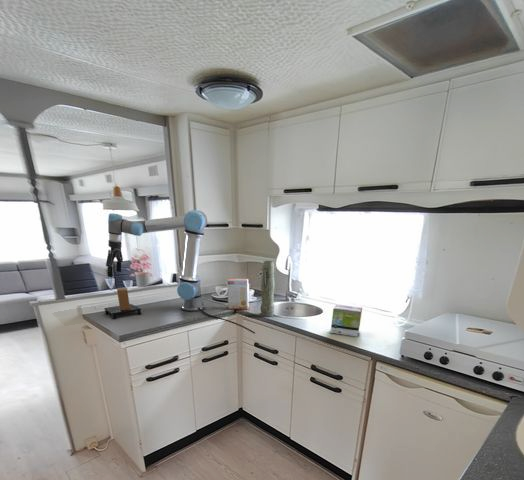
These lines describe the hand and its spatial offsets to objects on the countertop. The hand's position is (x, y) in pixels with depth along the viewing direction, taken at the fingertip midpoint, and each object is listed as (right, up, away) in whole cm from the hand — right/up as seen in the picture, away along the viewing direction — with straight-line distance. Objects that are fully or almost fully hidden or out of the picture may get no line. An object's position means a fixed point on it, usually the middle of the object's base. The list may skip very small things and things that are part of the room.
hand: (114, 274), depth 209 cm
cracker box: (+79, -20, +22) cm, 84 cm away
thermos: (+99, -26, +8) cm, 103 cm away
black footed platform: (+3, -25, +6) cm, 26 cm away
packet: (+5, -22, +3) cm, 23 cm away
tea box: (+143, -39, -23) cm, 150 cm away
